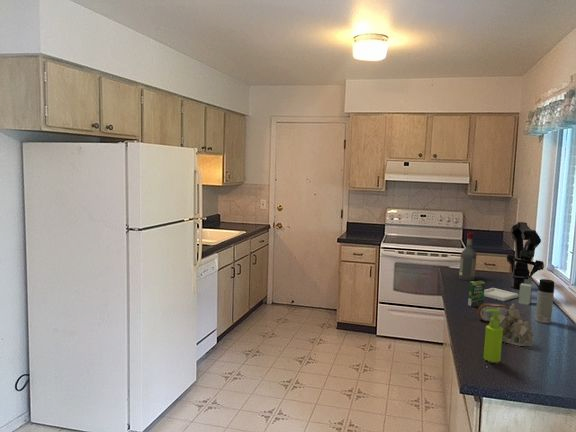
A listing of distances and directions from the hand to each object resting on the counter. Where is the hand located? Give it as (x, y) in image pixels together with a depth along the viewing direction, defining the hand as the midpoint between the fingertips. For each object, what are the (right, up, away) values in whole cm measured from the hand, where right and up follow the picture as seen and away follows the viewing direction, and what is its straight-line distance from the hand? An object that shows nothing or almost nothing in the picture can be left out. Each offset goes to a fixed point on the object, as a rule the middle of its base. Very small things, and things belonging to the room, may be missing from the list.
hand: (520, 275), depth 268 cm
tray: (-10, -12, +6) cm, 17 cm away
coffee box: (-31, -14, -15) cm, 37 cm away
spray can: (-7, -18, -36) cm, 41 cm away
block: (-1, -14, -6) cm, 15 cm away
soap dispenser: (-53, -22, -85) cm, 103 cm away
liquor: (-14, -8, +44) cm, 47 cm away
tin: (-32, -17, -39) cm, 53 cm away
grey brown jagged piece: (-35, -20, -62) cm, 74 cm away
